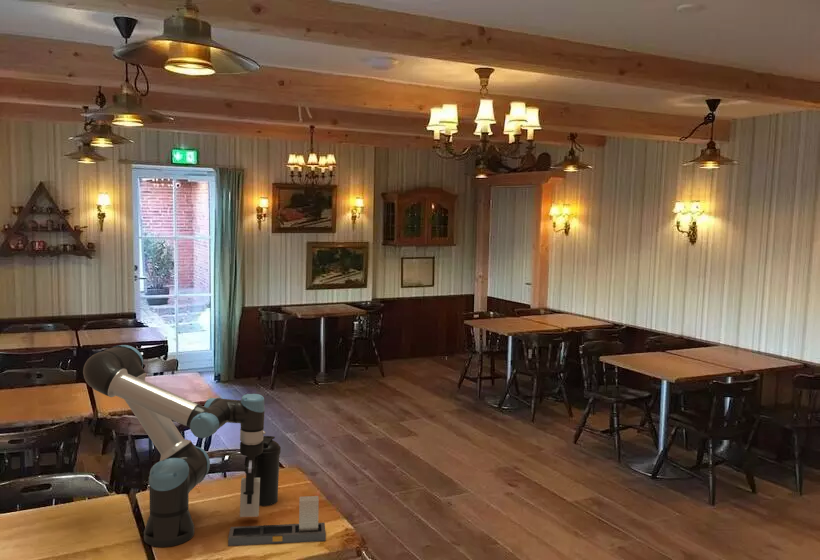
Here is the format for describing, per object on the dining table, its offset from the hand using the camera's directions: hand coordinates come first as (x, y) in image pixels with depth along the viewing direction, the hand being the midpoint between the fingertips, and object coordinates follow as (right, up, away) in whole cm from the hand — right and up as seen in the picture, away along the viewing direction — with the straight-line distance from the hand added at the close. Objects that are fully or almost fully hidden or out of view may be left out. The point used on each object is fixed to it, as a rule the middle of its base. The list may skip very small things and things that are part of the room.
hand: (249, 509), depth 223 cm
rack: (+11, -6, -10) cm, 16 cm away
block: (0, -2, 0) cm, 2 cm away
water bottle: (+2, -3, +17) cm, 17 cm away
